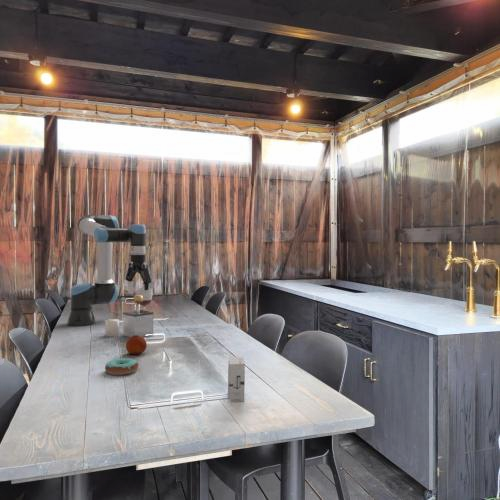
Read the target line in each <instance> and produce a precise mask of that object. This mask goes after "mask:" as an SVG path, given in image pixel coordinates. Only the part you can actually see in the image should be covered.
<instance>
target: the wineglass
mask: <svg viewBox="0 0 500 500" xmlns="http://www.w3.org/2000/svg"><path fill="white" fill-rule="evenodd" d="M153 290H154V289H153V288H152V287H151V288H150V287H148V296H146V297H143V302H140V305H141V306H142V307H143V309H142V310H144V311H146V306H148V305H149V304H150V303H151V302H152V300H153V293H154V292H153ZM135 295H142V296H143V287H141V288H135Z"/></svg>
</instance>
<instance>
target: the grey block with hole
mask: <svg viewBox="0 0 500 500" xmlns="http://www.w3.org/2000/svg"><path fill="white" fill-rule="evenodd" d="M146 334H153V335H154V311H150V310H145V311H144V310H143V309H140V313H137V310H131V311H123V312H122V336H124V337H127V338H130V337H132V336H134V335H138V336H140V337H142V338H145V337H144V336H145V335H146Z"/></svg>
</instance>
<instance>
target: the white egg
mask: <svg viewBox="0 0 500 500" xmlns="http://www.w3.org/2000/svg"><path fill="white" fill-rule="evenodd" d="M104 321H105V323H104V326H105V327H104V332H105V334H104V336H105V337H108V338H113V337H114V338H115V337H119V336H120V319H119V318H108V319H105V320H104Z"/></svg>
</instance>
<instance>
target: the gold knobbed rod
mask: <svg viewBox="0 0 500 500" xmlns="http://www.w3.org/2000/svg"><path fill="white" fill-rule="evenodd" d="M140 302H143V296H142V295H136V294H134V295H133V303H136V311H137V313H140V310H141V308H140V307H141V306H140Z"/></svg>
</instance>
